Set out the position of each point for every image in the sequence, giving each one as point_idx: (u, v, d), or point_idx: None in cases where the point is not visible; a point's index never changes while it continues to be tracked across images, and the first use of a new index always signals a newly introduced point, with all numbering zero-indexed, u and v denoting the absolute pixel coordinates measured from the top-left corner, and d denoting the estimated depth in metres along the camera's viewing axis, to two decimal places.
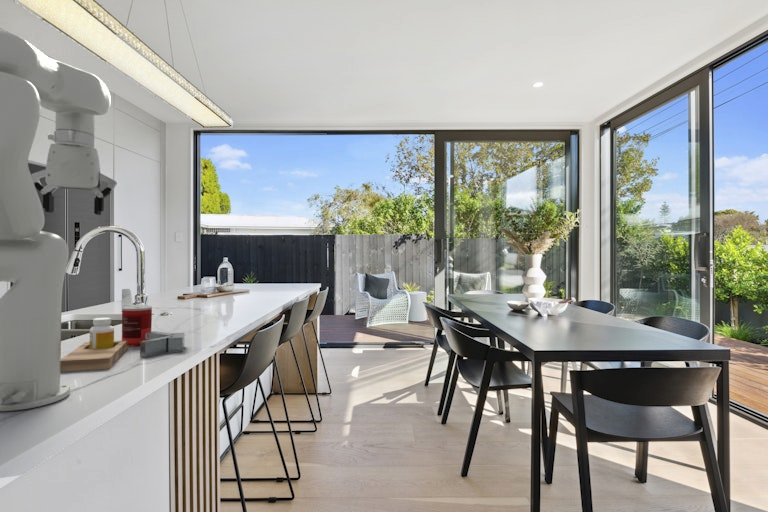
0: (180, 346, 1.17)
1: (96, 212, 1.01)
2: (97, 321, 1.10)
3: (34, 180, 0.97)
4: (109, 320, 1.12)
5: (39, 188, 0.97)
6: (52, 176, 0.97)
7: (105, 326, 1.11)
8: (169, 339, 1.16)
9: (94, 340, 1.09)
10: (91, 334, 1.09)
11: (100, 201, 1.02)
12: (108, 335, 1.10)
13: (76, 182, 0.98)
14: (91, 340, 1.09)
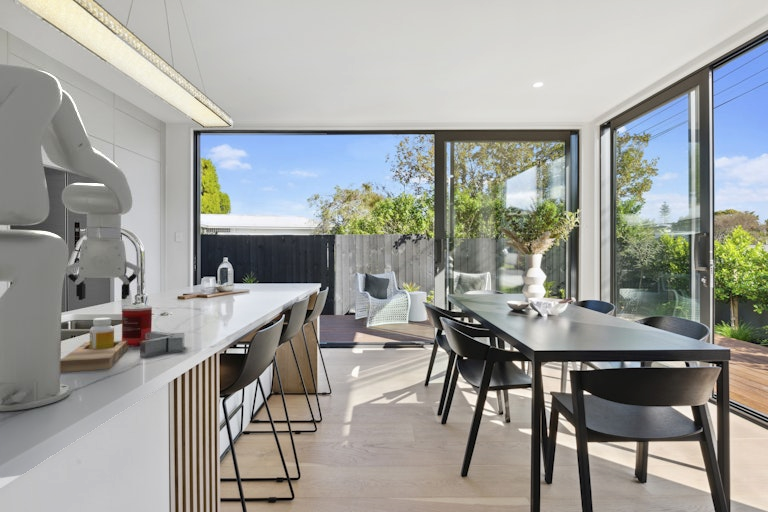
0: (180, 346, 1.17)
1: (123, 297, 1.12)
2: (97, 321, 1.10)
3: (68, 272, 1.09)
4: (109, 320, 1.12)
5: (73, 279, 1.09)
6: (85, 269, 1.08)
7: (105, 326, 1.11)
8: (169, 339, 1.16)
9: (94, 340, 1.09)
10: (91, 334, 1.09)
11: (126, 287, 1.13)
12: (108, 335, 1.10)
13: (106, 273, 1.10)
14: (91, 340, 1.09)
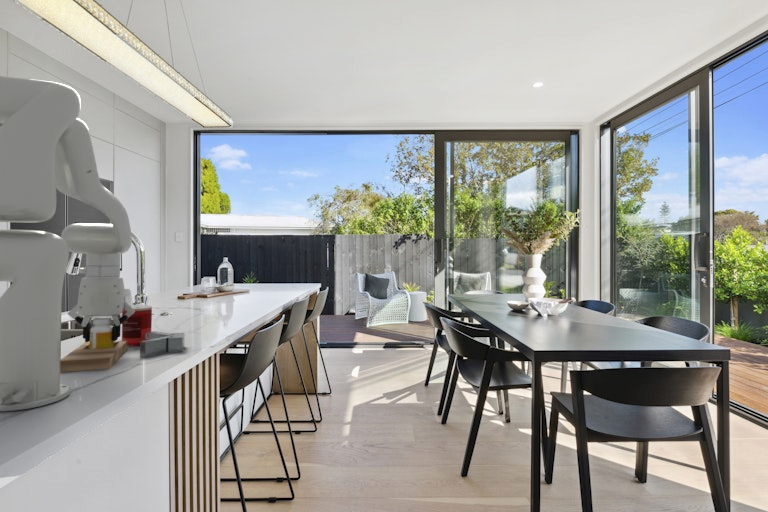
0: (180, 346, 1.17)
1: (114, 339, 1.11)
2: (97, 321, 1.10)
3: (74, 315, 1.09)
4: (109, 320, 1.12)
5: (80, 321, 1.09)
6: (83, 308, 1.08)
7: (105, 326, 1.11)
8: (169, 339, 1.16)
9: (94, 340, 1.09)
10: (91, 334, 1.09)
11: (117, 328, 1.12)
12: (108, 335, 1.10)
13: (104, 311, 1.09)
14: (91, 340, 1.09)
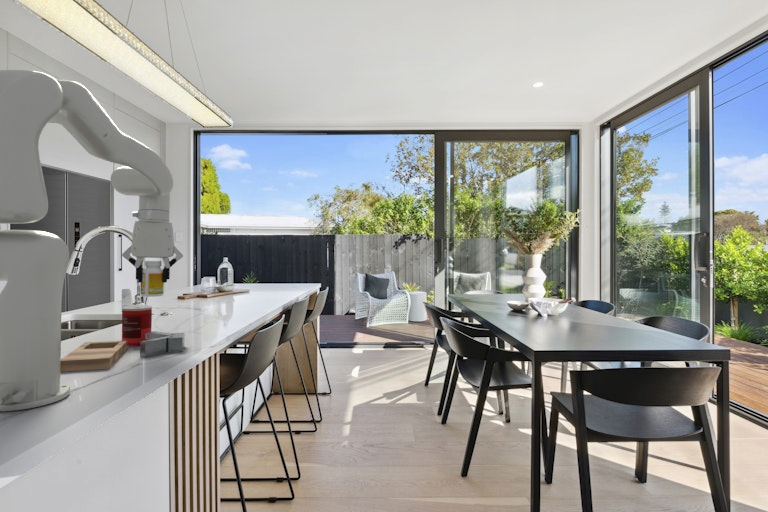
0: (180, 346, 1.17)
1: (164, 281, 1.17)
2: (149, 262, 1.15)
3: (127, 256, 1.15)
4: (160, 262, 1.17)
5: (133, 262, 1.15)
6: (137, 249, 1.14)
7: (156, 267, 1.16)
8: (169, 339, 1.16)
9: (146, 280, 1.15)
10: (144, 274, 1.15)
11: (167, 271, 1.18)
12: (159, 276, 1.16)
13: (156, 253, 1.15)
14: (144, 280, 1.15)
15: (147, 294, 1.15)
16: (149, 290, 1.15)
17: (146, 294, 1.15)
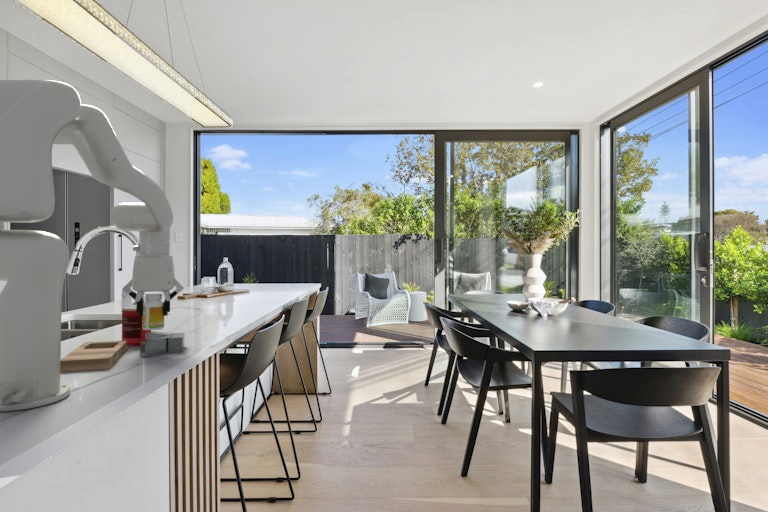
0: (180, 346, 1.17)
1: (165, 314, 1.17)
2: (150, 296, 1.16)
3: (128, 290, 1.15)
4: (160, 295, 1.18)
5: (133, 296, 1.15)
6: (137, 283, 1.14)
7: (156, 301, 1.17)
8: (169, 339, 1.16)
9: (147, 314, 1.15)
10: (144, 308, 1.15)
11: (168, 304, 1.18)
12: (159, 310, 1.17)
13: (157, 287, 1.15)
14: (144, 314, 1.15)
15: (148, 328, 1.15)
16: (150, 324, 1.15)
17: (147, 328, 1.15)
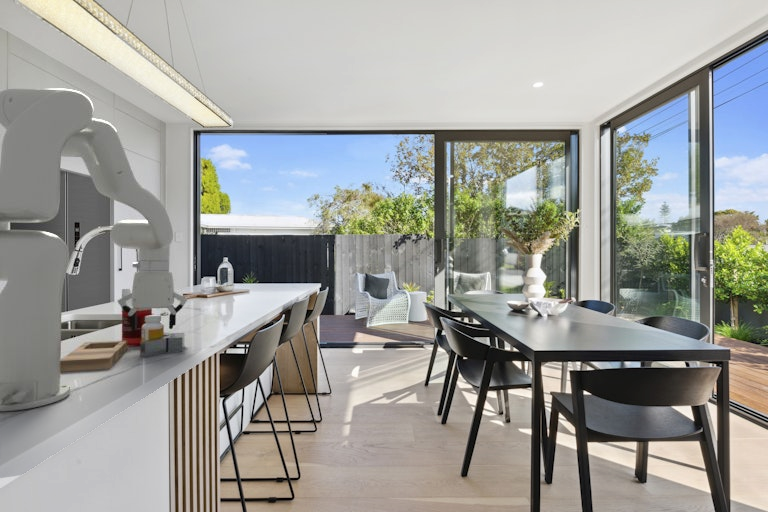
0: (180, 346, 1.17)
1: (171, 327, 1.18)
2: (149, 318, 1.16)
3: (122, 304, 1.14)
4: (160, 317, 1.18)
5: (126, 310, 1.15)
6: (137, 300, 1.14)
7: (156, 323, 1.17)
8: (169, 339, 1.16)
9: (146, 337, 1.15)
10: (144, 331, 1.15)
11: (173, 317, 1.19)
12: (159, 332, 1.16)
13: (156, 304, 1.15)
14: (144, 336, 1.15)
15: None
16: None
17: None
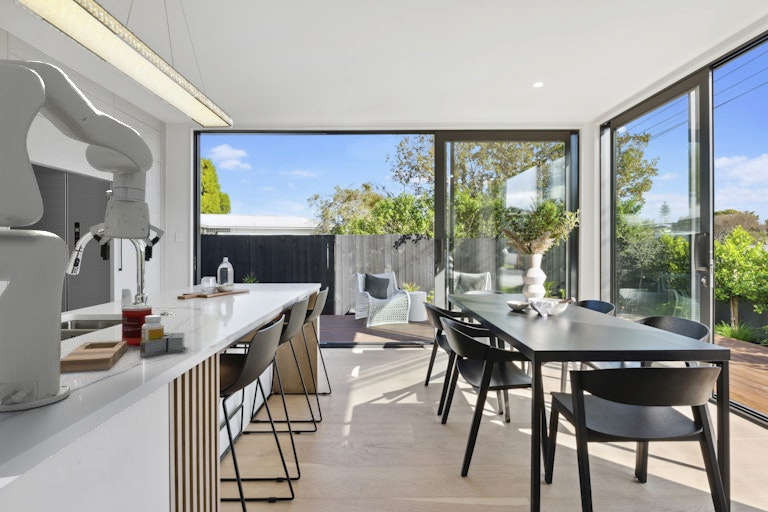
0: (180, 346, 1.17)
1: (146, 259, 1.13)
2: (149, 318, 1.16)
3: (94, 232, 1.09)
4: (160, 317, 1.18)
5: (98, 239, 1.10)
6: (109, 229, 1.09)
7: (156, 323, 1.17)
8: (169, 339, 1.16)
9: (146, 337, 1.15)
10: (144, 331, 1.15)
11: (149, 249, 1.14)
12: (159, 332, 1.16)
13: (130, 233, 1.10)
14: (144, 336, 1.15)
15: None
16: None
17: None
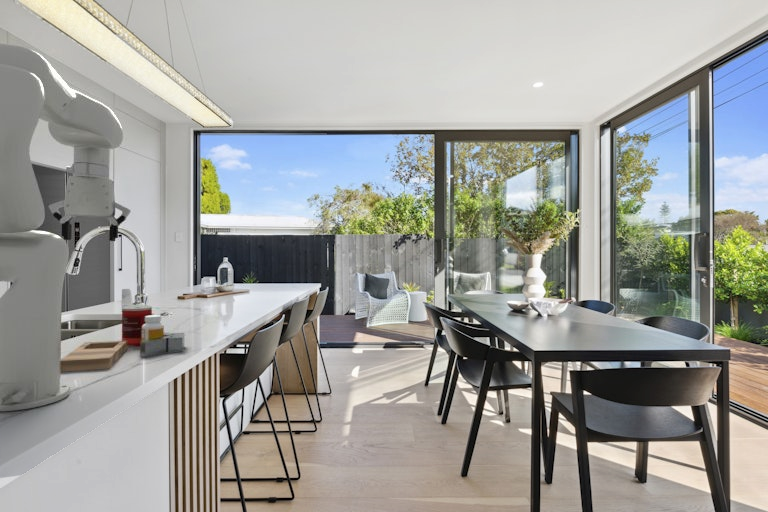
0: (180, 346, 1.17)
1: (111, 239, 1.07)
2: (149, 318, 1.16)
3: (54, 210, 1.04)
4: (160, 317, 1.18)
5: (58, 217, 1.04)
6: (70, 206, 1.03)
7: (156, 323, 1.17)
8: (169, 339, 1.16)
9: (146, 337, 1.15)
10: (144, 331, 1.15)
11: (115, 228, 1.08)
12: (159, 332, 1.16)
13: (93, 212, 1.05)
14: (144, 336, 1.15)
15: None
16: None
17: None
